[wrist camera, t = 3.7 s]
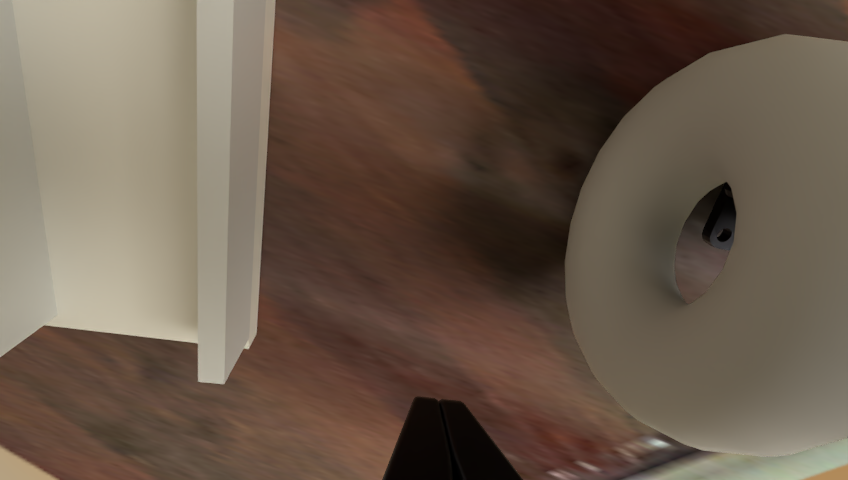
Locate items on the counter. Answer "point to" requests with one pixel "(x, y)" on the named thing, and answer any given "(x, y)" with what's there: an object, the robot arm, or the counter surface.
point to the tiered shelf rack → (135, 169)
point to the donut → (748, 258)
